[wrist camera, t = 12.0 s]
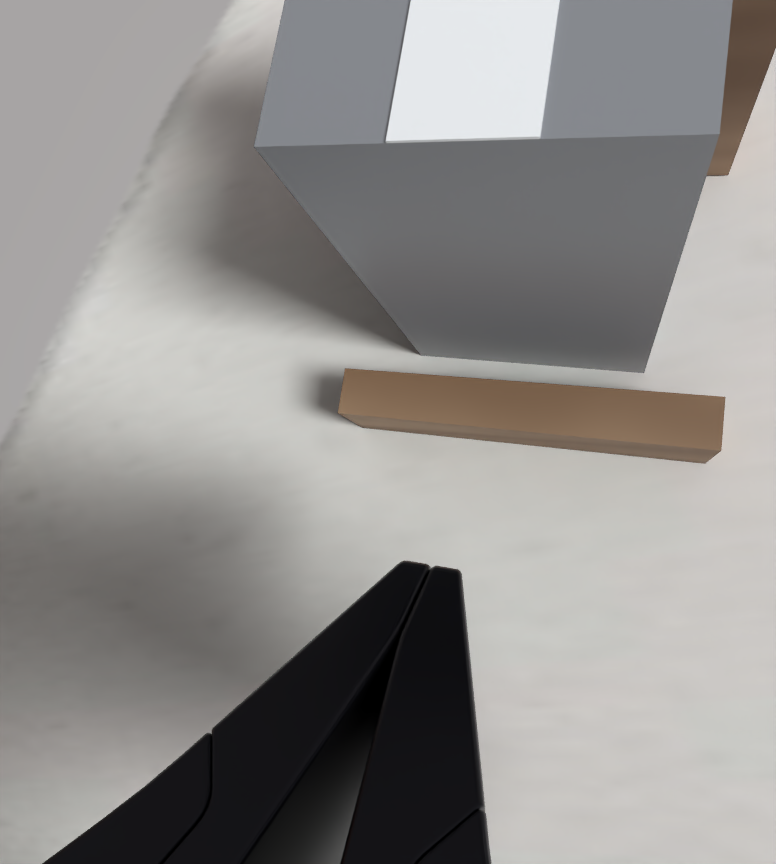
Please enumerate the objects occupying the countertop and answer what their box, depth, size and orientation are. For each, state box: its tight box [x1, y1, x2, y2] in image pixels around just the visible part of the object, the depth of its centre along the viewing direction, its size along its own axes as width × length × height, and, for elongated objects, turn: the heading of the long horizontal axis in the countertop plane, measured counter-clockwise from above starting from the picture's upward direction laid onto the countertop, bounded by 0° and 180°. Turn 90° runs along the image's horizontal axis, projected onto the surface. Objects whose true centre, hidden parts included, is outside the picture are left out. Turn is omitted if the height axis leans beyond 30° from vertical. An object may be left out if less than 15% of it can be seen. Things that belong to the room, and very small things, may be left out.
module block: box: [254, 0, 733, 373], centre depth 13 cm, size 5×6×10 cm
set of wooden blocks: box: [338, 0, 776, 463], centre depth 13 cm, size 10×9×10 cm
